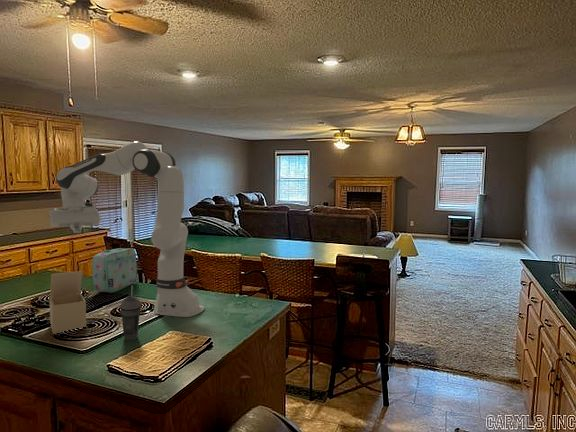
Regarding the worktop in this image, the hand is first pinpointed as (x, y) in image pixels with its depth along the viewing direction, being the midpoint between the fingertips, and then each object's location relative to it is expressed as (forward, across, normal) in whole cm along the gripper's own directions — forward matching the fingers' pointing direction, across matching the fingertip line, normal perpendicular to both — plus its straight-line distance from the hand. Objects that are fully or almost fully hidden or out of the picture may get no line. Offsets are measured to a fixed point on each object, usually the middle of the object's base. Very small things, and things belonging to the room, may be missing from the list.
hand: (77, 232), depth 178 cm
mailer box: (+43, -7, +5) cm, 43 cm away
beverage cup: (+59, +10, -12) cm, 61 cm away
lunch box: (+10, +20, +38) cm, 44 cm away
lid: (+30, -7, -1) cm, 31 cm away
